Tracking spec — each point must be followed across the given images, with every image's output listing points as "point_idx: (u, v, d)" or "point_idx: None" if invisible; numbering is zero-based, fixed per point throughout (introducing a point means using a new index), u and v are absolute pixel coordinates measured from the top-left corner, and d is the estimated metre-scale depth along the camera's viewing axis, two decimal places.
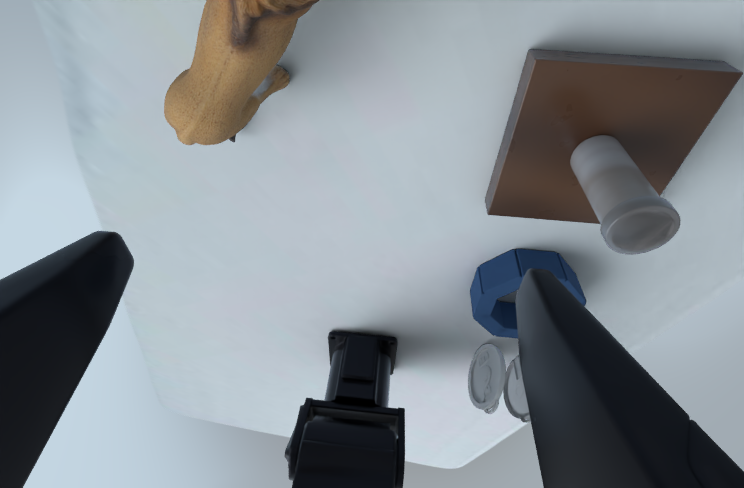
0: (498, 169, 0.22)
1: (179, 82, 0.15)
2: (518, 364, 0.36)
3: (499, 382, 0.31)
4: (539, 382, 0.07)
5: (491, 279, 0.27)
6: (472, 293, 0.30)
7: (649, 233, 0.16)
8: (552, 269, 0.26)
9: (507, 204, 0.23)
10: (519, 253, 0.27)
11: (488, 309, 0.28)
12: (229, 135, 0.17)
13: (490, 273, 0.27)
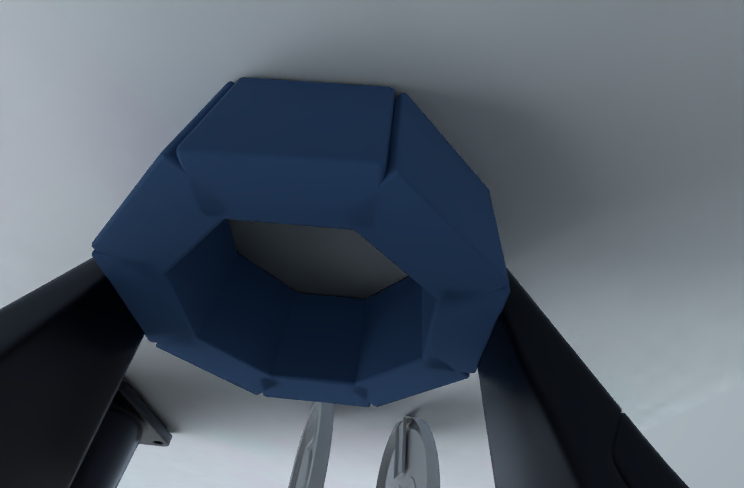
0: None
1: None
2: (402, 439, 0.16)
3: None
4: (491, 377, 0.07)
5: None
6: None
7: None
8: (339, 130, 0.05)
9: None
10: (239, 88, 0.07)
11: (171, 316, 0.08)
12: None
13: None
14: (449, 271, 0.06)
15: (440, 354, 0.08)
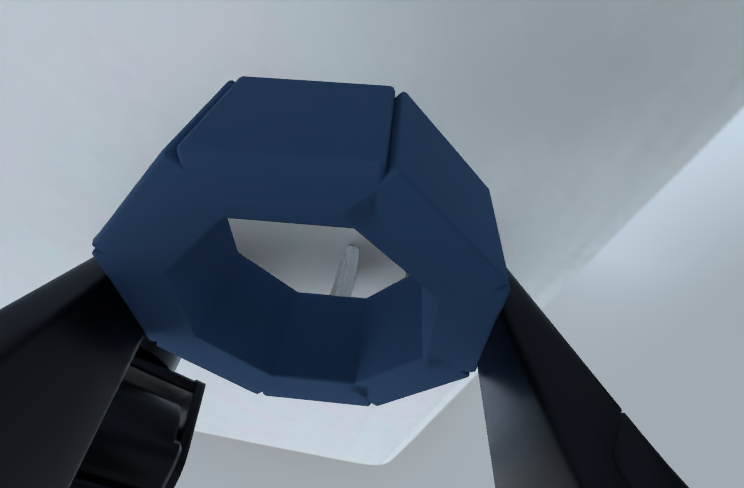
0: None
1: None
2: None
3: None
4: (491, 377, 0.07)
5: None
6: None
7: None
8: (339, 129, 0.05)
9: None
10: (239, 87, 0.07)
11: (171, 315, 0.08)
12: None
13: None
14: (449, 270, 0.06)
15: (440, 353, 0.08)
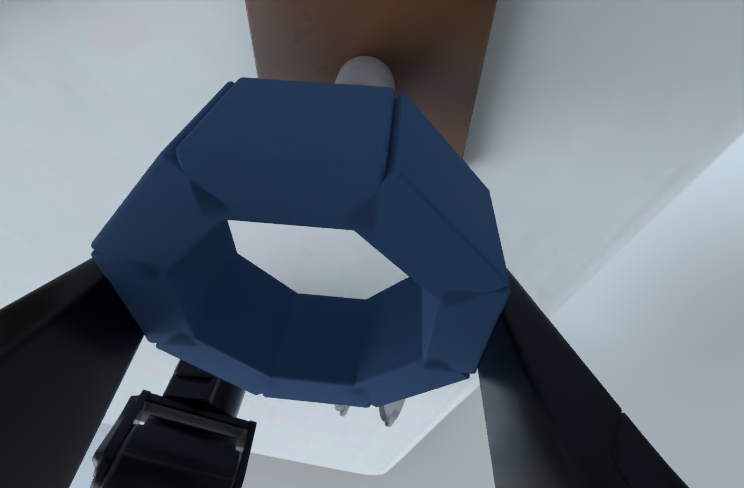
0: None
1: None
2: None
3: None
4: (491, 377, 0.07)
5: None
6: None
7: None
8: (339, 130, 0.05)
9: None
10: (239, 88, 0.07)
11: (170, 316, 0.08)
12: None
13: None
14: (449, 272, 0.06)
15: (440, 355, 0.08)
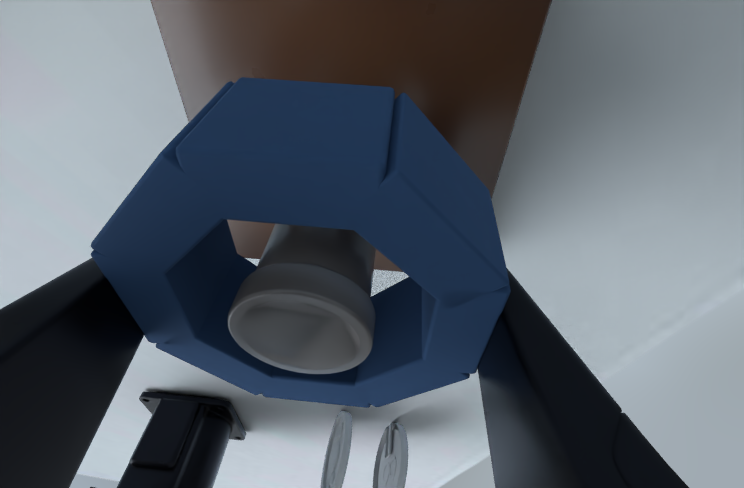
0: None
1: None
2: (390, 435, 0.27)
3: (336, 475, 0.23)
4: (491, 377, 0.07)
5: None
6: None
7: (317, 342, 0.07)
8: (339, 130, 0.05)
9: (250, 242, 0.14)
10: (238, 88, 0.07)
11: (170, 316, 0.08)
12: None
13: None
14: (449, 272, 0.06)
15: (440, 355, 0.08)
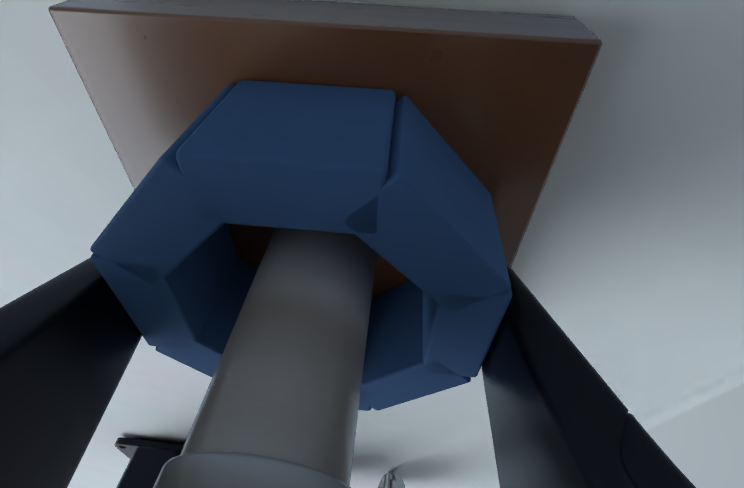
0: None
1: None
2: (387, 485, 0.25)
3: None
4: (495, 378, 0.07)
5: None
6: None
7: None
8: (340, 134, 0.05)
9: None
10: (239, 91, 0.07)
11: (170, 320, 0.08)
12: None
13: None
14: (450, 276, 0.06)
15: (441, 358, 0.08)
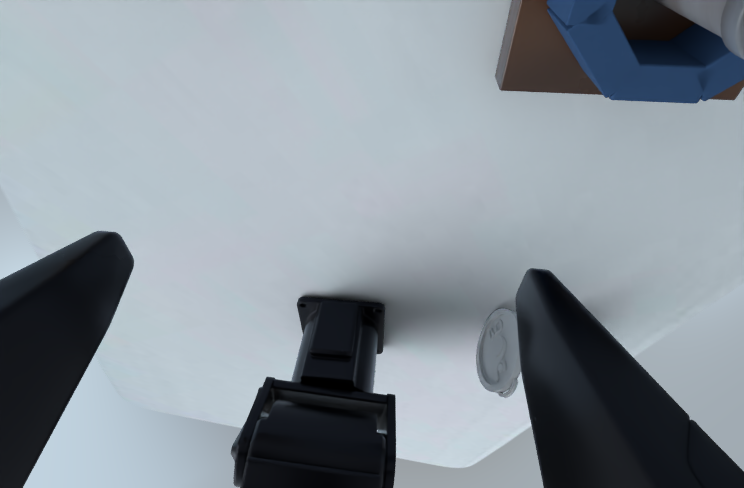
0: (517, 4, 0.14)
1: None
2: None
3: (517, 355, 0.23)
4: (539, 382, 0.07)
5: None
6: None
7: None
8: None
9: (530, 68, 0.15)
10: None
11: None
12: None
13: None
14: None
15: None
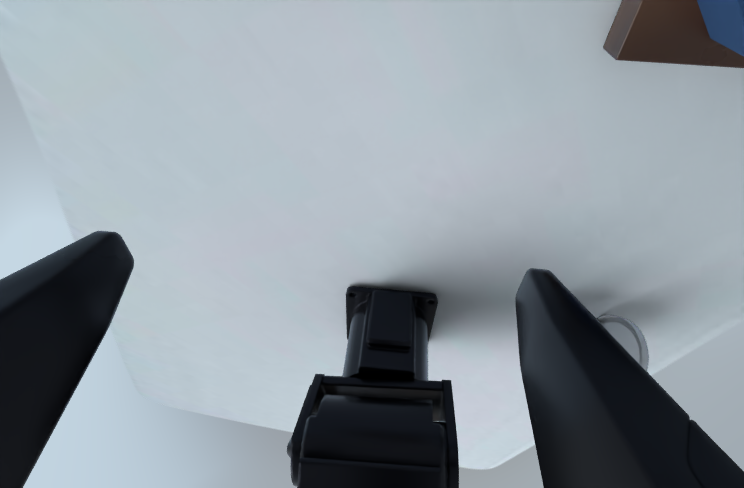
0: None
1: None
2: None
3: None
4: (539, 382, 0.07)
5: None
6: None
7: None
8: None
9: (653, 35, 0.14)
10: None
11: None
12: None
13: None
14: None
15: None
